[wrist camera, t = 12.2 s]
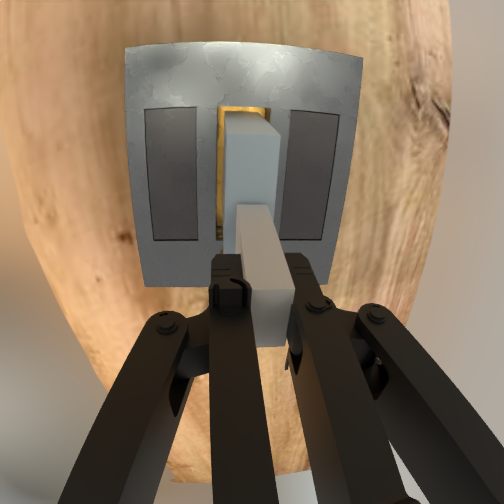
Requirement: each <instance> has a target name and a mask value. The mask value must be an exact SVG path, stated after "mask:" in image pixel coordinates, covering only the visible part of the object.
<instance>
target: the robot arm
mask: <svg viewBox="0 0 504 504" xmlns="http://www.w3.org/2000/svg"><path fill="white" fill-rule="evenodd" d="M235 253H236V254H216V255H215V257H214V258H213V259H212V261H211V284H210V286H209V289H208V290H209V306H208V308H207V309H206V310H205V311H204V312H202V313H201V314H199V315H196V316H193V317H189V318H185V317H184V316H183V315H182V314H180V313H178V312H175V311H162V312H158V313H156V314H154V315H152V316H151V317H150V318H149V319H148V321H147V322H146V324H145V326H144V327H143V329H142V331H141V333H140V335H139V336H138V338H137V340H136V342H135V344H134V346H133V347H132V349H131V351H130V353H129V355H128V357H127V359H126V361H125V362H124V364H123V366H122V368H121V370H120V372H119V374H118V376H117V378H116V380H115V382H114V384H113V386H112V387H111V389H110V391H109V393H108V395H107V397H106V399H105V401H104V403H103V405H102V408H101V409H100V411H99V413H98V416H97V417H96V420H95V422H94V424H93V426H92V428H91V430H90V432H89V434H88V436H87V438H86V440H85V443H84V445H83V447H82V449H81V451H80V454H79V456H78V458H77V460H76V462H75V464H74V467H73V469H72V471H71V473H70V476H69V478H68V480H67V483H66V485H65V487H64V489H63V492H62V494H61V496H60V499H59V501H58V504H153V502H154V499H155V496H156V493H157V489H158V486H159V483H160V480H161V477H162V474H163V471H164V468H165V465H166V462H167V459H168V456H169V453H170V449H171V446H172V443H173V440H174V437H175V434H176V431H177V428H178V425H179V422H180V419H181V416H182V413H183V410H184V407H185V404H186V401H187V398H188V395H189V392H190V389H191V386H192V383H193V380H194V377H196V376H200V375H203V374H207V373H209V400H210V441H211V468H212V489H213V504H279V500H278V494H277V488H276V481H275V474H274V467H273V461H272V454H271V447H270V440H269V434H268V427H267V420H266V413H265V406H264V399H263V392H262V385H261V378H260V371H259V364H258V357H257V350H256V347H277V346H285V343H286V338H287V340H288V344H289V348H288V353H287V358H286V363H285V370H288V366H289V367H290V371H291V376H292V381H293V385H294V390H295V395H296V399H297V404H298V409H299V413H300V418H301V423H302V428H303V432H304V437H305V442H306V447H307V451H308V456H309V461H310V466H311V471H312V476H313V481H314V485H315V491H316V495H317V500H318V504H421V503H420V502H419V501H417V500H416V499H413V498H411V497H409V496H408V494H407V493H406V491H405V488H404V485H403V482H402V479H401V476H400V473H399V470H398V467H397V464H396V461H395V458H394V455H393V452H392V449H391V446H390V443H391V444H392V446H393V448H394V449H395V451H396V452H397V454H398V455H399V457H400V458H401V459H402V461H403V463H404V464H405V466H406V467H407V469H408V471H409V472H410V474H411V475H412V477H413V478H414V479H415V481H416V483H417V484H418V486H419V487H420V489H421V490H422V492H423V494H424V495H425V497H426V498H427V500H428V501H429V503H430V504H504V448H503V446H502V444H501V443H500V442H499V440H498V439H497V438H496V437H495V435H494V434H493V433H492V431H491V430H490V429H489V428H488V426H487V425H486V423H485V422H484V421H483V419H482V418H481V417H480V416H479V415H478V413H477V412H476V410H475V409H474V408H473V407H472V405H471V404H470V403H469V402H468V400H467V399H466V398H465V397H464V396H463V394H462V393H461V392H460V391H459V389H458V388H457V387H456V386H455V384H454V383H453V382H452V381H451V380H450V379H449V377H448V376H447V375H446V374H445V373H444V371H443V370H442V369H441V368H440V367H439V365H438V364H437V363H436V362H435V361H434V360H433V358H432V357H431V356H430V355H429V354H428V353H427V352H426V350H425V349H424V348H423V347H422V346H421V345H420V344H419V342H418V341H417V340H416V339H415V338H414V337H413V336H412V335H411V333H410V332H409V331H408V330H407V329H406V328H405V327H404V325H403V324H402V323H401V322H400V321H399V320H398V319H397V318H396V317H395V316H394V314H393V313H392V312H391V311H390V310H388V309H387V308H386V307H384V306H382V305H379V304H374V303H369V304H365V305H363V306H361V307H360V309H359V311H358V313H356V312H351V311H345V310H341V309H338V308H336V306H335V304H334V303H333V301H332V300H331V299H329V298H328V297H326V296H324V295H323V293H322V291H321V288H320V286H319V284H318V281H317V279H316V277H315V275H314V272H313V269H312V268H311V265H310V262H309V260H308V259H307V258H306V257H305V256H304V255H303V254H302V253H283V250H282V247H281V244H280V241H279V238H278V235H277V232H276V229H275V226H274V223H273V220H272V217H271V214H270V211H269V208H268V205H249V204H237V215H236V249H235ZM378 358H379V359H378ZM388 440H389V441H390V443H389V441H388Z"/></svg>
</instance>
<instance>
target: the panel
mask: <svg viewBox="0 0 504 504" xmlns="http://www.w3.org/2000/svg"><path fill="white" fill-rule="evenodd" d="M280 139H281V135H280V134H279V133H278V132H277V131H276V130H275V129H274V128H273V127H272V126H271V125H270V124H269V123H268V122H267V121H266V120H265V119H264V118H263V117H262V116H261V115H260V114H259V113H258V112H253V111H225V116H224V152H223V213H222V218H223V254H236V253H235V249H236V215H237V204H249V205H268V208H269V211H270V214H271V217H272V220H273V221H274V210H275V199H276V187H277V175H278V163H279V151H280Z"/></svg>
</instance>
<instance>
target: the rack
mask: <svg viewBox="0 0 504 504" xmlns="http://www.w3.org/2000/svg"><path fill="white" fill-rule="evenodd" d="M362 68H363V58H361V57H357V56H352V55H347V54H342V53H336V52H331V51H325V50H318V49H311V48H304V47H296V46H287V45H277V44H265V43H248V42H182V43H165V44H153V45H143V46H134V47H127V48H125V115H126V136H127V152H128V165H129V176H130V187H131V196H132V205H133V213H134V221H135V228H136V236H137V242H138V249H139V255H140V262H141V268H142V273H143V279H144V284H145V287H209V286H210V284H211V261H212V259H213V258H214V257H215V255H216V254H223V218H222V213H223V152H224V116H225V111H253V112H258V113H259V114H260V115H261V116H262V117H263V118H264V119H265V120H266V121H267V122H268V123H269V124H270V125H271V126H272V127H273V128H274V129H275V130H276V131H277V132H278V133H279V134H280V135H281V139H280V151H279V163H278V175H277V187H276V199H275V210H274V221H273V223H274V226H275V229H276V232H277V235H278V238H279V241H280V244H281V247H282V250H283V253H302V254H303V255H304V256H305V257H306V258H307V259H308V260H309V262H310V265H311V268H312V269H313V272H314V275H315V277H316V279H317V281H318V284H319V285H325V284H327V283H328V278H329V274H330V270H331V265H332V261H333V256H334V251H335V247H336V242H337V237H338V232H339V227H340V222H341V217H342V211H343V206H344V201H345V195H346V189H347V183H348V177H349V171H350V165H351V159H352V152H353V145H354V138H355V131H356V123H357V115H358V107H359V98H360V89H361V79H362Z"/></svg>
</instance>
